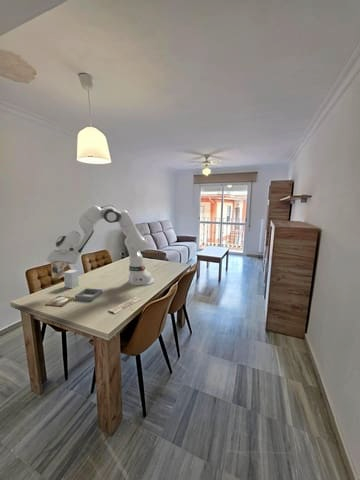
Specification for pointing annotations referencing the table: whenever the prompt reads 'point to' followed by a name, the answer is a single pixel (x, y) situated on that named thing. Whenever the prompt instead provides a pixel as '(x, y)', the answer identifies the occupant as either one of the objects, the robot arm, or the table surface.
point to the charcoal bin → (88, 298)
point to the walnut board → (60, 301)
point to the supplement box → (71, 278)
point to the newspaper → (125, 305)
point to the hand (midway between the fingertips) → (57, 268)
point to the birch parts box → (57, 269)
